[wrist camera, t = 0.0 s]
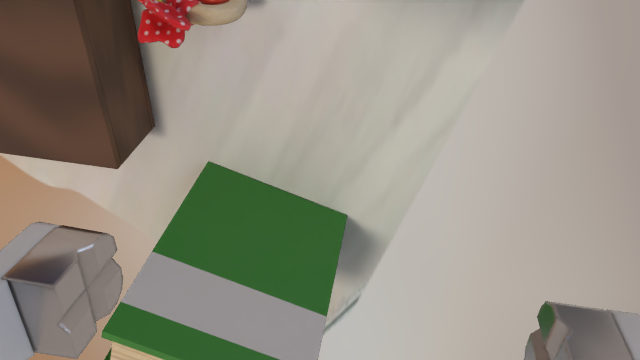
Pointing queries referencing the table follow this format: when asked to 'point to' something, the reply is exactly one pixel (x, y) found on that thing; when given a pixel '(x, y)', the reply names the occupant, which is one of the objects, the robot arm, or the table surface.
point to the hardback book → (233, 277)
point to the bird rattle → (184, 17)
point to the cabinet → (72, 81)
